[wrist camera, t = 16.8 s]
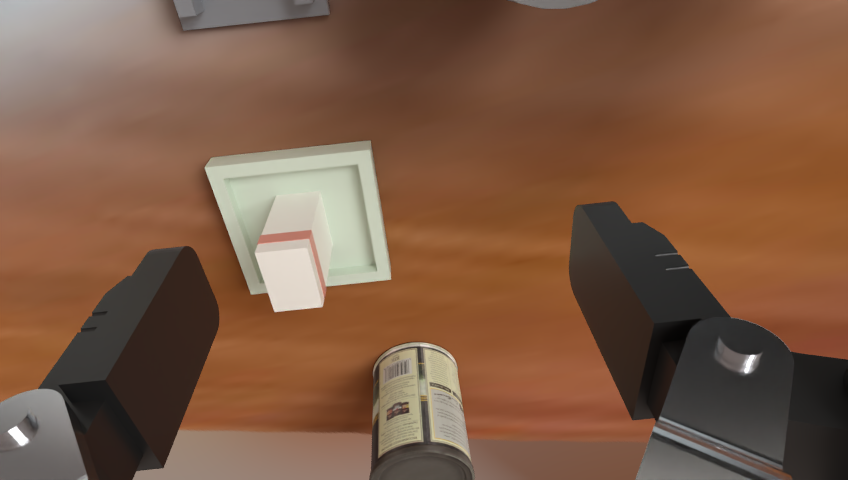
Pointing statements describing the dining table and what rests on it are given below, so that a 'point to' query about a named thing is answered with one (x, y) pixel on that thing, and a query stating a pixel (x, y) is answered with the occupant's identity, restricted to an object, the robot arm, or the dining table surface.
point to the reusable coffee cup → (553, 3)
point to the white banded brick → (295, 252)
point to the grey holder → (244, 11)
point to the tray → (297, 173)
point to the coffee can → (418, 416)
